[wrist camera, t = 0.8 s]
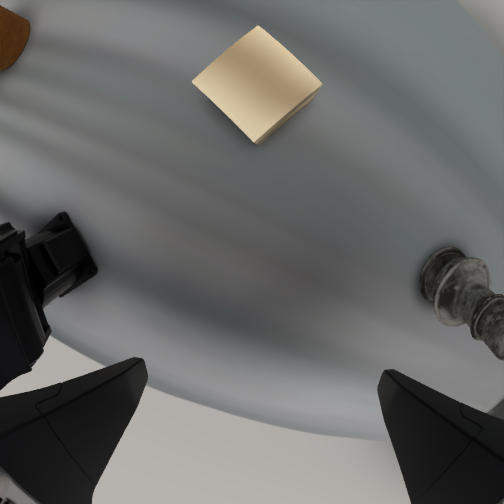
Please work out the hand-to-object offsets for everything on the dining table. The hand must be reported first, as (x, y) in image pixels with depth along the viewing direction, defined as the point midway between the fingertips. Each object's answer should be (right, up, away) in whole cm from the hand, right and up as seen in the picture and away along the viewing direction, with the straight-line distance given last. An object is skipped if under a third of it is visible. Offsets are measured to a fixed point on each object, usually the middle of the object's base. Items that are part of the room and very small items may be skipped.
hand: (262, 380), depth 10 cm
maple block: (0, +15, +9) cm, 18 cm away
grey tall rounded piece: (+16, +3, +12) cm, 20 cm away
